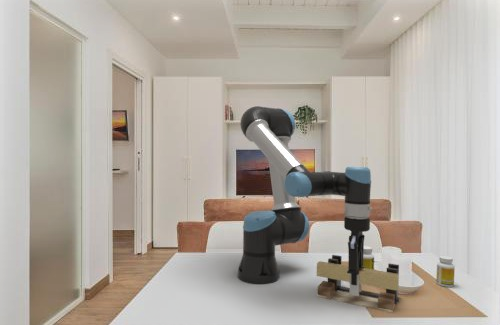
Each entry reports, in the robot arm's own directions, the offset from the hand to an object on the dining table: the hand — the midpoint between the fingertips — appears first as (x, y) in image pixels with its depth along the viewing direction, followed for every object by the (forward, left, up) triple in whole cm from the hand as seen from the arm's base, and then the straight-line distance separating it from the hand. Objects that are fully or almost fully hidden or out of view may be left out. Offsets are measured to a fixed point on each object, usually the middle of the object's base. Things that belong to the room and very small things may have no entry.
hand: (355, 292), depth 105 cm
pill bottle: (-1, +23, -3) cm, 23 cm away
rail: (0, 0, +3) cm, 3 cm away
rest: (0, 0, -2) cm, 2 cm away
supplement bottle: (+25, +30, -3) cm, 39 cm away
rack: (+1, +6, -2) cm, 7 cm away
